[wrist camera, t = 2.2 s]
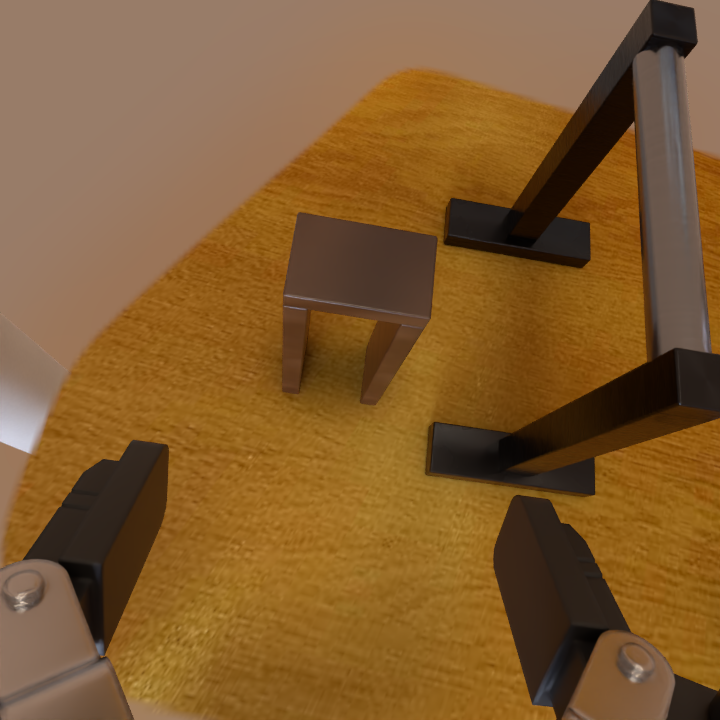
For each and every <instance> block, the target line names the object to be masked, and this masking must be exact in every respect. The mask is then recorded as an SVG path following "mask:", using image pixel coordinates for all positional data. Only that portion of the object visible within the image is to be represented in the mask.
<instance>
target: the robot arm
mask: <svg viewBox="0 0 720 720" xmlns="http://www.w3.org/2000/svg"><path fill="white" fill-rule="evenodd" d="M168 459H169V448H168V445H166V444H159V443H152V442H145V441H138V440H133V441H132V442H131V443H130V444H129V446H128V447H127V449H126V451H125V452H124V454H123V455H122V457H121V459H120V460H119V461H114V460H106V459H103V460H101V461H100V462H98V463H97V464H95V465H94V466H92V467H91V468H89V469H88V470H86V471H85V472H83V474H82V475H81V477H80V478H79V480H78V481H77V483H76V484H75V485H74V487H73V488H72V491H71V493H69V494H68V496H67V497H66V498H65V500H64V501H63V503H62V506H61V507H59V508H58V510H57V511H56V513H55V514H54V516H53V517H52V519H51V520H50V521H49V523H48V524H47V526H46V527H45V529H44V530H43V532H42V533H41V534H40V536H39V537H38V539H37V540H36V542H35V543H34V544H33V546H32V547H31V549H30V550H29V552H28V553H27V555H26V556H25V557H24V559H23V560H22V561H19V562H15V563H13V564H10V565H7V566H5V567H3V568H1V569H0V720H134V718H133V715H132V713H131V710H130V708H129V705H128V703H127V700H126V698H125V695H124V693H123V690H122V688H121V685H120V683H119V680H118V677H117V675H116V672H115V670H114V668H113V665H112V663H111V661H110V660H109V658H108V657H106V656H105V657H103V658H101V657H100V655H101V656H104V655H105V653H106V650H107V648H108V646H109V644H110V641H111V639H112V637H113V634H114V632H115V630H116V627H117V625H118V623H119V621H120V618H121V616H122V614H123V611H124V609H125V607H126V605H127V602H128V600H129V598H130V595H131V593H132V591H133V589H134V586H135V584H136V582H137V579H138V577H139V575H140V573H141V570H142V568H143V566H144V563H145V561H146V559H147V557H148V554H149V552H150V550H151V547H152V545H153V543H154V541H155V538H156V536H157V534H158V531H159V529H160V527H161V524H162V521H163V517H164V513H165V509H166V502H167V484H168ZM493 560H494V570H495V574H496V578H497V581H498V585H499V588H500V592H501V596H502V599H503V603H504V606H505V610H506V613H507V617H508V620H509V624H510V627H511V631H512V634H513V638H514V641H515V645H516V648H517V652H518V655H519V659H520V663H521V666H522V670H523V673H524V677H525V680H526V684H527V687H528V691H529V694H530V698H531V701H532V705H540V706H549V707H553V708H554V711H555V714H556V718H557V719H556V720H720V689H719V691H715V690H713V689H710V688H708V687H705V686H703V685H700V684H698V683H695V682H693V681H690V680H688V679H685V678H683V677H680V676H678V675H676V674H674V673H673V671H672V669H671V667H670V665H669V663H668V662H667V660H666V659H665V657H664V656H663V655H662V654H661V653H660V652H659V651H658V650H657V649H656V648H655V647H654V646H653V645H652V644H650V643H649V642H648V641H646V640H645V639H643V638H641V637H639V636H637V635H635V634H633V633H631V631H630V629H629V627H628V625H627V623H626V621H625V619H624V617H623V615H622V613H621V611H620V609H619V607H618V605H617V603H616V601H615V599H614V597H613V595H612V593H611V591H610V589H609V587H608V585H607V583H606V581H605V579H602V573H601V571H600V569H599V567H598V565H597V564H596V563H595V559H594V557H593V555H592V553H591V551H590V549H589V547H588V545H587V543H586V541H585V540H584V539H583V538H582V537H581V536H580V535H579V534H578V533H577V532H576V531H575V530H574V529H573V528H572V527H571V526H570V525H569V524H564V523H561V522H560V520H559V518H558V516H557V514H556V512H555V509H554V507H553V505H552V503H551V502H550V500H548V499H543V498H536V497H529V496H522V495H516V496H514V497H513V499H512V501H511V503H510V506H509V509H508V511H507V514H506V517H505V519H504V522H503V525H502V527H501V530H500V533H499V536H498V538H497V541H496V544H495V548H494V558H493Z"/></svg>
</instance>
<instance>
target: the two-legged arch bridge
mask: <svg viewBox="0 0 720 720" xmlns="http://www.w3.org/2000/svg"><path fill="white" fill-rule="evenodd" d="M436 249H437V237H436V236H432V235H426V234H421V233H415V232H409V231H403V230H398V229H392V228H386V227H381V226H375V225H369V224H364V223H358V222H352V221H346V220H341V219H335V218H329V217H324V216H318V215H312V214H306V213H301V212H299V213H298V215H297V220H296V226H295V231H294V237H293V242H292V248H291V254H290V259H289V265H288V270H287V276H286V281H285V287H284V292H283V371H282V391H283V392H288V393H295V394H298V393H299V389H300V383H301V376H302V370H303V364H304V357H305V351H306V345H307V339H308V331H309V323H310V314H311V310H316V311H322V312H328V313H334V314H341V315H347V316H353V317H359V318H365V319H372V320H378V321H377V324H376V326H375V329H374V331H373V334H372V336H371V338H370V341H369V343H368V346H367V350H366V358H365V366H364V374H363V382H362V391H361V399H360V403H362V404H369V405H376V404H377V402H378V401H379V399H380V398H381V396H382V394H383V393H384V391H385V390H386V388H387V386H388V385H389V383H390V382H391V380H392V379H393V377H394V375H395V374H396V372H397V371H398V369H399V368H400V366H401V364H402V363H403V361H404V360H405V358H406V357H407V355H408V353H409V352H410V350H411V349H412V347H413V345H414V344H415V342H416V341H417V339H418V338H419V336H420V334H421V333H422V331H423V330H424V328H425V327H426V325H427V323H428V322H429V320H430V319H431V309H432V297H433V285H434V273H435V261H436Z"/></svg>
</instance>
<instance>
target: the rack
mask: <svg viewBox="0 0 720 720" xmlns="http://www.w3.org/2000/svg"><path fill="white" fill-rule="evenodd" d="M697 42H698V39H697V30H696V20H695V11H694V8H691V7H686V6H681V5H677V4H673V3H668V2H664V1H659V0H650V1H649V2H648V4H647V5H646V7H645V8H644V10H643V11H642V13H641V14H640V16H639V17H638V19H637V20H636V22H635V23H634V25H633V26H632V28H631V29H630V31H629V32H628V34H627V35H626V37H625V38H624V40H623V41H622V43H621V44H620V46H619V47H618V49H617V50H616V52H615V53H614V55H613V56H612V58H611V60H610V61H609V62H608V64H607V65H606V67H605V68H604V70H603V72H602V73H601V74H600V76H599V77H598V79H597V80H596V82H595V83H594V85H593V86H592V88H591V89H590V91H589V93H588V94H587V95H586V97H585V99H584V100H583V101H582V103H581V104H580V106H579V107H578V109H577V110H576V112H575V113H574V115H573V116H572V118H571V119H570V121H569V122H568V124H567V125H566V127H565V128H564V130H563V131H562V133H561V134H560V136H559V137H558V139H557V140H556V142H555V143H554V145H553V146H552V148H551V149H550V151H549V152H548V154H547V155H546V157H545V158H544V160H543V161H542V163H541V165H540V166H539V168H538V169H537V171H536V172H535V174H534V175H533V177H532V178H531V180H530V181H529V183H528V184H527V186H526V187H525V189H524V190H523V192H522V193H521V195H520V196H519V198H518V199H517V201H516V202H515V204H514V205H513V207H512V208H511V209H510V208H505V207H499V206H494V205H488V204H483V203H477V202H472V201H466V200H461V199H455V198H451V199H450V201H449V203H448V206H447V208H446V219H445V232H444V244H447V245H452V246H458V247H464V248H470V249H475V250H481V251H487V252H493V253H498V254H504V255H510V256H516V257H521V258H527V259H533V260H539V261H544V262H550V263H556V264H561V265H567V266H573V267H579V268H583V267H584V266H585V265H586V264H587V263H588V262H589V261H590V259H591V258H590V223H588V222H582V221H577V220H571V219H566V218H560V217H556V216H557V215H558V214H559V213H560V211H561V210H562V209H563V208H564V207H565V205H566V204H567V203H568V202H569V200H570V199H571V198H572V197H573V195H574V194H575V193H576V192H577V191H578V189H579V188H580V187H581V186H582V184H583V183H584V182H585V181H586V180H587V178H588V177H589V176H590V175H591V173H592V172H593V171H594V170H595V168H596V167H597V166H598V165H599V164H600V162H601V161H602V160H603V159H604V157H605V156H606V155H607V154H608V153H609V151H610V150H611V149H612V148H613V146H614V145H615V144H616V143H617V141H618V140H619V139H620V138H621V137H622V135H623V134H624V133H625V132H626V130H627V129H628V128H629V127H630V126H631V124H632V123H633V122H634V123H635V142H636V161H637V180H638V199H639V218H640V237H641V256H642V275H643V294H644V312H645V331H646V350H647V363H645V364H643V365H641V366H639V367H637V368H635V369H633V370H631V371H629V372H628V373H626V374H624V375H622V376H620V377H618V378H616V379H614V380H612V381H610V382H609V383H607V384H605V385H603V386H601V387H599V388H597V389H595V390H593V391H591V392H589V393H588V394H586V395H584V396H582V397H580V398H578V399H576V400H574V401H572V402H570V403H568V404H567V405H565V406H563V407H561V408H559V409H557V410H555V411H553V412H551V413H549V414H548V415H546V416H544V417H542V418H540V419H538V420H536V421H534V422H532V423H530V424H528V425H527V426H525V427H523V428H521V429H519V430H517V431H515V432H513V433H507V432H500V431H493V430H487V429H480V428H473V427H466V426H460V425H453V424H446V423H439V422H434V423H432V424H431V425H430V426H429V434H428V447H427V460H426V472H425V473H426V475H431V476H438V477H445V478H452V479H459V480H466V481H474V482H481V483H488V484H495V485H502V486H509V487H517V488H524V489H531V490H538V491H545V492H553V493H560V494H567V495H574V496H581V497H587V496H592V495H595V463H594V457H596V456H599V455H602V454H606V453H609V452H612V451H615V450H619V449H622V448H625V447H628V446H631V445H635V444H638V443H641V442H644V441H647V440H651V439H654V438H657V437H660V436H664V435H667V434H670V433H673V432H676V431H680V430H683V429H686V428H689V427H693V426H696V425H699V424H702V423H705V422H709V421H712V420H715V419H718V418H720V355H719V354H713V353H712V350H711V340H710V329H709V318H708V307H707V297H706V286H705V275H704V264H703V254H702V243H701V232H700V221H699V211H698V200H697V189H696V179H695V168H694V157H693V146H692V136H691V125H690V115H689V103H688V93H687V82H686V71H685V61H684V59H685V58H686V57H687V56H688V54H689V53H690V52H691V50H692V49H693V48H694V47H695V46H696V44H697Z"/></svg>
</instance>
